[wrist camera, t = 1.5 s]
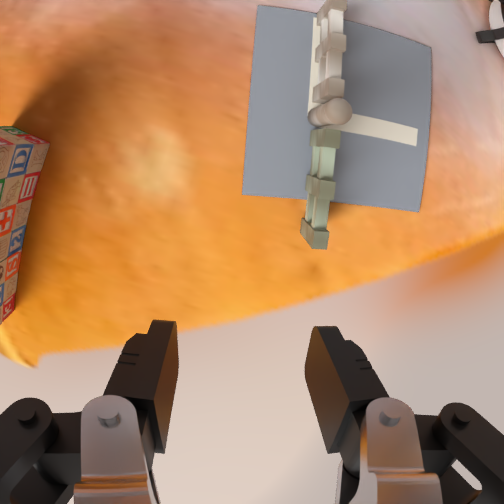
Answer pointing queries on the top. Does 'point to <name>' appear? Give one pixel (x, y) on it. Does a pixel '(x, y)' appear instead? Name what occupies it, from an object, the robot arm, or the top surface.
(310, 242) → the hinged panel
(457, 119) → the top surface
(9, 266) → the stack of blocks
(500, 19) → the coffee press
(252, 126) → the card
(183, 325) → the top surface
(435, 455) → the robot arm
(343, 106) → the fence base
